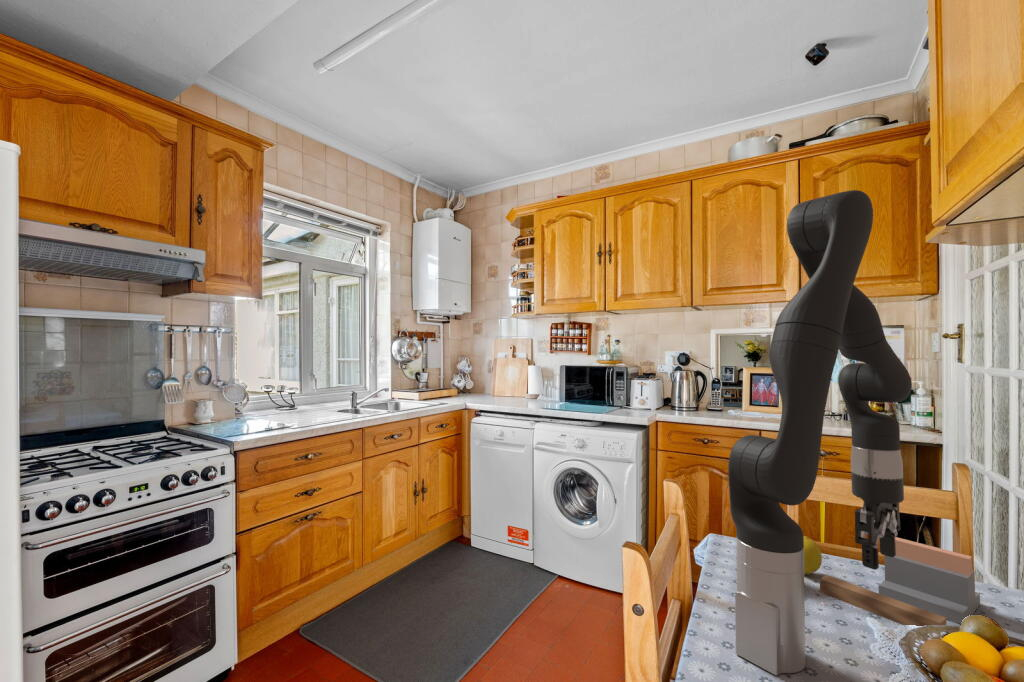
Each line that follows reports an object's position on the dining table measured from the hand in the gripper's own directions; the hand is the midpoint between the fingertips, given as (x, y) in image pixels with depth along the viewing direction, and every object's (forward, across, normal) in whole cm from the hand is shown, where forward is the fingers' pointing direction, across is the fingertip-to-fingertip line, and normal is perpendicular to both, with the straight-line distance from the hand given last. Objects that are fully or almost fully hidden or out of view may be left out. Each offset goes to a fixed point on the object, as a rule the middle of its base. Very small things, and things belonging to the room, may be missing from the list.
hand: (879, 561), depth 84 cm
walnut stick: (+9, 0, 0) cm, 9 cm away
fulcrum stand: (+9, +13, -4) cm, 16 cm away
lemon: (+9, +4, +14) cm, 18 cm away
